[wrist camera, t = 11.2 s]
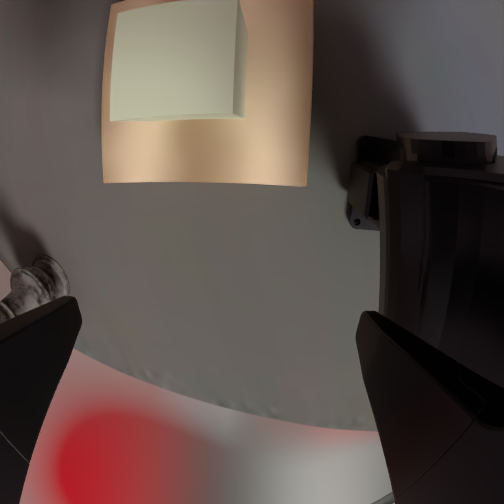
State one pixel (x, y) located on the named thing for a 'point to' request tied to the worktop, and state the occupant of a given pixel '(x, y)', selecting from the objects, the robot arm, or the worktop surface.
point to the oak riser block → (227, 130)
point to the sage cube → (180, 62)
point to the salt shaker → (34, 287)
